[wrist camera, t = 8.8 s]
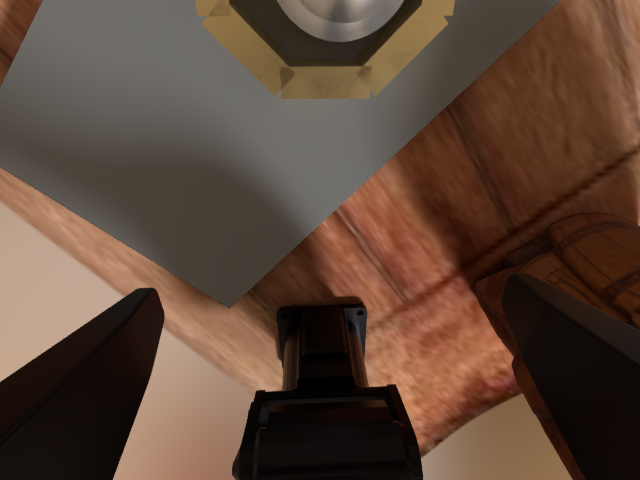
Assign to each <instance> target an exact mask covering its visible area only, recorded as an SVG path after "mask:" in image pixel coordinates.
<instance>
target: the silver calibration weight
mask: <svg viewBox="0 0 640 480" xmlns="http://www.w3.org/2000/svg"><path fill="white" fill-rule="evenodd" d="M403 1H404V0H277V2H278V3H279V5H280V6H281V8H282V9H283V11H284V12H285V13H286V15H287V16H288V17H289V18H290V19H291V20H292V21H293V22H294V23H295V24H296V25H297V26H298V27H299V28H301V29H302V30H304V31H305V32H307V33H308V34H310V35H312V36H314V37H317V38H320V39H322V40H327V41H332V42H346V41H352V40H356V39H360V38H362V37H365V36H367V35H369V34H371V33H373V32H375V31H376V30H378V29H379V28H380V27H382V26H383V25H384V24H385V23H386V22H387V21H388V20H389V19H390V18H391V17H392V16H393V15H394V14H395V13H396V11H397V10H398V9H399V7H400V6H401V4H402V3H403Z"/></svg>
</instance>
